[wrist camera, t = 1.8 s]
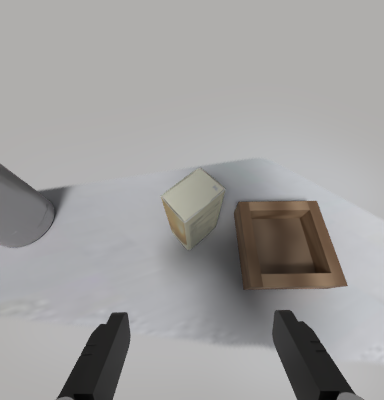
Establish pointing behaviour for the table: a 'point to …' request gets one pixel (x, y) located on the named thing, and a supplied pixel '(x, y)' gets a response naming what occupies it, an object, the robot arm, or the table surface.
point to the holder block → (285, 246)
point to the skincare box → (193, 207)
